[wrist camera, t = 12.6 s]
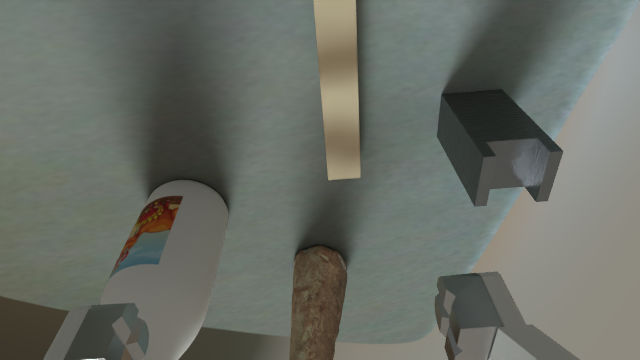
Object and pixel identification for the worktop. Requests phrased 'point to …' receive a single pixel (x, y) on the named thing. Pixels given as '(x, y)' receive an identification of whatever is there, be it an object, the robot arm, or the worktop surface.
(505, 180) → the post
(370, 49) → the worktop surface
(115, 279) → the milk bottle
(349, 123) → the rail
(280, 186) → the worktop surface
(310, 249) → the brown stone cone
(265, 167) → the worktop surface
